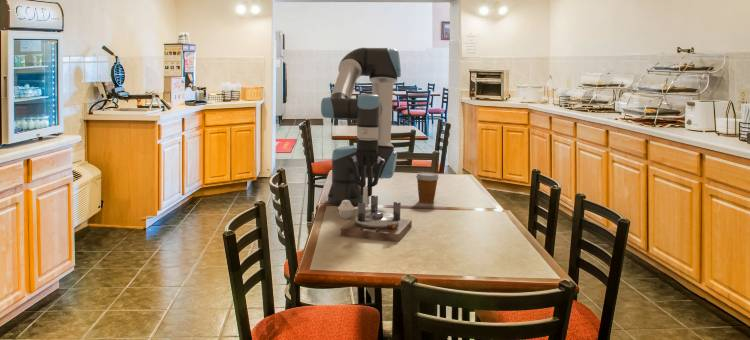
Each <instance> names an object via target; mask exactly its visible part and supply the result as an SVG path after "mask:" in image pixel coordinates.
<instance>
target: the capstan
mask: <svg viewBox="0 0 750 340" xmlns="http://www.w3.org/2000/svg"><path fill="white" fill-rule="evenodd" d="M378 201H379V195H371V196H370V212H366V206H365V203H364V202H359V203H358V204H357V215H355V217H356V221H355V223H356V225H358V226H360V227H364V228H370V229H377V228H379V229H388V228H395V227H397V226H398V225H399V220H400V219H401V208H402V207H401V206H402V205H401V204H402V202H399V201H394V202H393V207H392V208H393V212H392V213H386V212H382V211H378V209H379V208H378V206H379V202H378Z"/></svg>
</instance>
